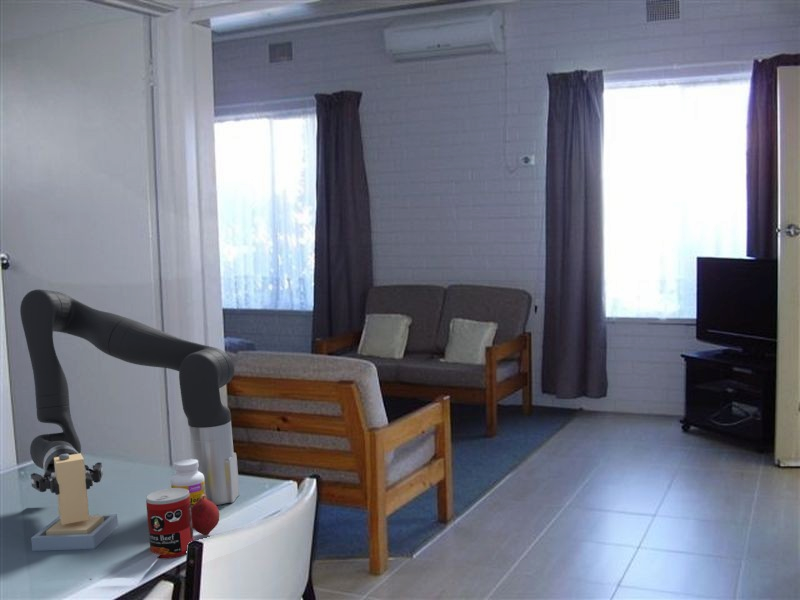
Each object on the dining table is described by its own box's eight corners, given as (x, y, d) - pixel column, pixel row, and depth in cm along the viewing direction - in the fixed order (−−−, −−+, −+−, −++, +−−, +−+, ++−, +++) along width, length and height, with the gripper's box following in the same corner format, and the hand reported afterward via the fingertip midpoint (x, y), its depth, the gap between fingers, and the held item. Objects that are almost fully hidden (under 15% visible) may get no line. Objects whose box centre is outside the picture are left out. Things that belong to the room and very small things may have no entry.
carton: (86, 512, 177) (80, 449, 176) (89, 519, 173) (83, 454, 172) (59, 517, 175) (53, 453, 174) (62, 524, 171) (55, 459, 169)
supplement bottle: (191, 531, 177) (185, 468, 176) (167, 526, 181) (162, 464, 180) (214, 520, 183) (209, 459, 182) (191, 516, 187) (186, 456, 185)
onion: (213, 540, 171) (210, 500, 170) (185, 540, 172) (182, 500, 172) (225, 530, 177) (222, 490, 176) (198, 529, 178) (194, 490, 177)
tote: (118, 531, 180) (117, 514, 180) (94, 553, 168) (92, 535, 168) (60, 533, 181) (59, 516, 180) (32, 555, 169) (31, 537, 169)
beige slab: (104, 530, 178) (103, 515, 178) (88, 545, 170) (86, 529, 170) (65, 531, 179) (64, 516, 178) (47, 546, 171) (45, 531, 170)
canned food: (142, 557, 165) (137, 499, 164) (168, 541, 172) (164, 486, 171) (176, 561, 162) (171, 502, 161) (202, 545, 169) (197, 488, 168)
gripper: (24, 454, 183) (30, 474, 167) (97, 442, 189) (109, 461, 174) (28, 489, 183) (34, 513, 168) (100, 477, 190) (113, 498, 174)
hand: (72, 486), depth 171 cm, fingers closed on carton, 5 cm apart
